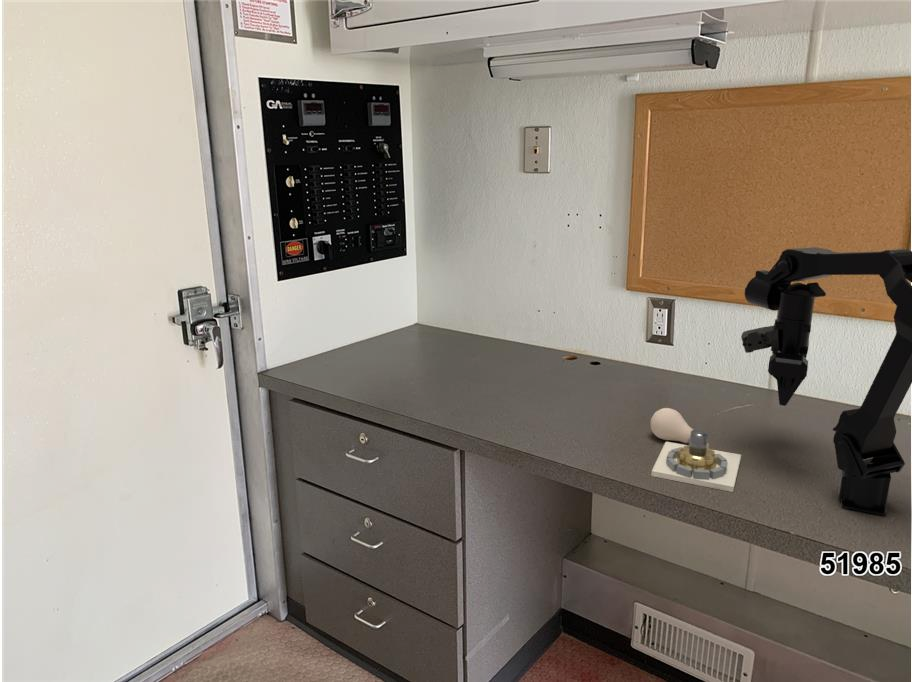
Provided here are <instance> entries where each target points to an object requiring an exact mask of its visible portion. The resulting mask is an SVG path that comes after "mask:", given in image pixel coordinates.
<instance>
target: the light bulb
mask: <svg viewBox="0 0 912 682" xmlns="http://www.w3.org/2000/svg"><path fill="white" fill-rule="evenodd" d="M650 429H651V431H652V433H653V435H655V436H656V437H657V438H658V439H661V440H663V441H674V442H681V443H682V444H683V443H684V444H687V445H689V446H690V436H691V431H692V430H694V428H692V427H691V426H689V425H688V423H687V422H686V420H685V419H684V418H683V415H682V414H681V413H680V412H678V411H677V410H676V409H673V408H669V407H663V408H660V409H658V410H657V411H655V412H654V414H653V415H652V417H651V418H650Z"/></svg>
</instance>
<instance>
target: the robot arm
mask: <svg viewBox="0 0 912 682" xmlns="http://www.w3.org/2000/svg"><path fill="white" fill-rule="evenodd" d="M839 275H840V276H844V275H845V276H849V275H851V276H853V275H854V276H855V275H856V276H857V275H858V276H864V275H865V276H868V275H869V276H871V275H872V276H879V277H880V278H881V279H882V280H883V285H884V288H885V292H886V295H887V297H888V298H889V299H890V300H891V302H893V304H895V306H896V307H895V310H894V314H893V320H894V321H893V322H894V326H895V336H894V338H893V340H892V342H891V344H890V345H889V347H888V350H887V352H886V354H885V356H884V359H883V360H882V362H881V364H880V366H879V369H878V371H877V372H876V375H875V377H874V379H873V381H872V383H871V385H870V387H869V389H868V391H867V393H866V395H865V397H864V399H863V401H862V404H861V405H860V406H859V407H858V408H854V409H852V408H851V409H847V410H843V411H842V412H841V414H840V415H839V419H838V422H837V423H836V425H835V426H834V427H833V428H832V431H834V434H833V438H832V439H833V441H832V442H833V444H834V449H835V457H836V464H837V468H838V469H839V470H841V473H840V479H839V484H838V491H837V493H838V499H839V500H840V501H841V503H840V505H841V507H842V508H843V509H847V510H853V511H858V512H863V513H868V514H873V515H879V516H884V517H885V516H887V515H888V510H887V502H888V498H889V497H888V496H889V491H890V487H891V479H892V475H891V474H893V473H900V472H901V471H902V469H903V468H904V466H905V465H906V463H905V461H904V458H903V457H902V455H901V453H900V451H899V450H898V448H897V446H896V444H895V443H894V442H895V439H896V435H897V427H896V423H895V417H896V414H897V412H898V410H899V409H900V406H901V404H902V403H903V401H904V399H905V397H906V395H907V393H908V391H909V389H910V388H911V386H912V284H911V283H912V250H909V249H908V248H897V249H896V248H895V249H885V250H881V251H854V252H853V251H852V252H851V251H850V252H837V251H833V250H831V249H827V248H822V247H815V246H814V247H813V246H811V247H800V248H798V247H797V248H787V249H784V250H783V251H782V252H781V254H780V256H779V258H778V260H777V261H776V262H775V263H774V265H773V266H772V267H771V269H770V270H767V269H764V270H763V269H761V270H756V271H755V274H754V277H752V278H751V279H750V280H749V281H748V283H747V285H746V287H745V288H744V297H745V298H744V299H745V300H746V301H747V302H748V303H749V304H751V305H754V306H757V307H761V308H764V309H766V310H769V311H776V312H777V317H776V319H774V324H773V325H770V326H763V327H759V328H758V327H757V328H753V329H749V330H748V329H747V330H746V331H743V332H742V334H741V341H742V342H741V343H742V346H743V348H744V351H745V353H747V354H748V353H753V352H754V351H759V350H764V349H768V348H770V351H771V352H772V355H771V356H769V360H768V367H767V368H768V369H767V373H768V374H769V375H770V376H772V377H773V378H774V379H775V381H776V384H777V385H776V386H777V394H778V401H779V402H778V403H779V405H780V406H785V407H786V406H787V404H788V403H789V402H790V401H791V399H792V398H793V395H794V394H795V392H797V389H798V388H799V387H800V386H801V384H802V383H803V381H804V380H805V379H806V377H807V374H808V368H809V361H808V359H807V355H808V352H809V351H808V350H809V346H810V334H811V331H812V330H811V329H812V321H813V320H812V319H813V313H814V306H815V298H821V297H823V298H824V297H826V295H827V293H826V292H825V290H824V289H823V288H822V287H821V286H820V285H819V282H808V283H807V284H806V283H805V284H804V283H801V282H806V281H807V280H808V281H809V280H810V281H811V280H817V279H822V278H827V277H831V276H839Z"/></svg>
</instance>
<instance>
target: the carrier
mask: <svg viewBox="0 0 912 682" xmlns="http://www.w3.org/2000/svg"><path fill="white" fill-rule="evenodd" d="M687 445H688V444H683V443H677V442H672V441H671V442H670V441H665V442H664V444H663V447H662V449H661V451H660V453H659V455H658V457H657V459H656V460H655V464H654V465H653V467H652V470H651V474H650V475H651V477H655V478H659V479H666V480H671V481H676V482H680V483H686V484H689V485H690V484H691V485H695V486H699V487H706V488H711V489H715V490H721V491H726V492H730V493H734V490H735V485H736V481H737V476H738V473H739V469H740V468H739V467H740V464H741V459H742V454H739V453H733V452H728V451H721V450H715V449H712V450H713V451H715V455H717V464H716V468H714V469H711V470H701V469H694V471H693V469H692V468H689V467H686V466H683V465H680V464H678V463H677V456H678V449H682V448H684V446H687ZM709 445H710V444H709V443H708V442H707V449H709V450H710V448H709Z"/></svg>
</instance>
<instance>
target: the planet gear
mask: <svg viewBox="0 0 912 682" xmlns="http://www.w3.org/2000/svg"><path fill="white" fill-rule="evenodd" d="M708 440H709V432H707V431H706V430H703V429H693V430H692V431H691V436H690V445H689V444H686V445H687V446H684V448H682V449H678V456H677V463H678V464H680V465H683V466H686V467H689V468H692V469H693V471H694V469H701V470H711V469H714V468H716V464H717V455H715V451H713V450H714V449H710V448H708V449H707V443H708ZM709 449H710V450H709Z"/></svg>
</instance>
